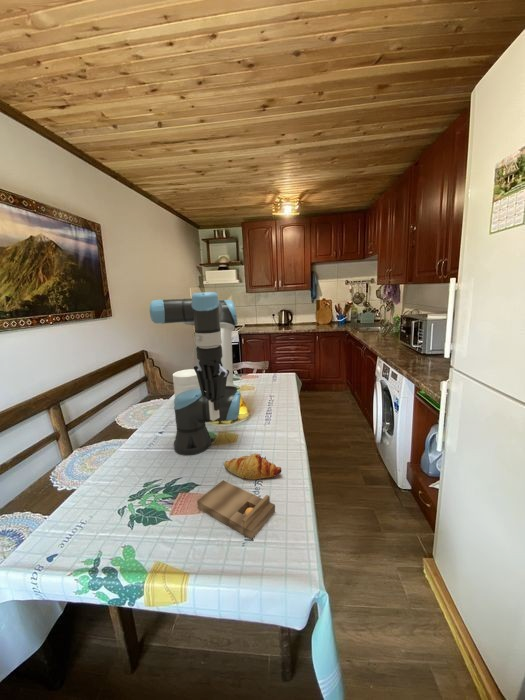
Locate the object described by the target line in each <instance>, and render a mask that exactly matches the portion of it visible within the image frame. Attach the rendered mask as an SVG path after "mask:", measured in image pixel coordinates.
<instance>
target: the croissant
mask: <svg viewBox="0 0 525 700" xmlns="http://www.w3.org/2000/svg"><path fill="white" fill-rule="evenodd" d="M223 465H224V468H226V469H227V470H228V471H229V472H230V473H231V474H233V475H235V476H237V477H239V478H241V479H244V480H245V479H248V480H258V479H259V480H261V479H266V478H273V477H276V476H278V475H279V474H281V473H282V467H281V466H276V464H275V463H273V462H270V461H268V460H267V457H262V456H261V455H260V454H259V453H252V454H249V455H243V456H239V457H237V458H232V459H230V460H225V461H224V462H223Z"/></svg>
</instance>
